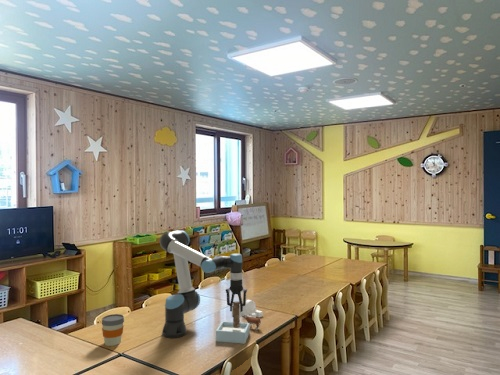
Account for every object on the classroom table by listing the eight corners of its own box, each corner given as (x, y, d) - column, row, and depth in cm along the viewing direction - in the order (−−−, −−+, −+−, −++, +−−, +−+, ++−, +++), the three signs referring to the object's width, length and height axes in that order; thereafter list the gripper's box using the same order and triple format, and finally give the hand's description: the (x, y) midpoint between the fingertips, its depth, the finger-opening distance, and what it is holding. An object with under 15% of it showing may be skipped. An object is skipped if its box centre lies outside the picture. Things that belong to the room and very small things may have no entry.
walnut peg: (232, 327, 224) (232, 303, 224) (233, 325, 228) (233, 301, 228) (238, 328, 223) (238, 303, 223) (240, 325, 227) (240, 301, 227)
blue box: (215, 341, 221) (215, 330, 221) (222, 331, 237) (222, 321, 237) (244, 343, 218) (245, 332, 218) (249, 333, 234) (249, 323, 234)
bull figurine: (246, 324, 249) (246, 312, 249) (261, 329, 241) (261, 316, 241) (242, 326, 246) (242, 314, 246) (257, 331, 237) (257, 318, 238)
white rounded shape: (262, 316, 265) (262, 301, 265) (253, 320, 258) (253, 304, 258) (245, 310, 278) (245, 296, 278) (236, 313, 271) (236, 298, 271)
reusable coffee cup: (114, 336, 226) (114, 312, 227) (128, 341, 220) (128, 316, 220) (96, 344, 216) (97, 318, 216) (111, 349, 209) (111, 322, 209)
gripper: (221, 279, 224) (221, 318, 223) (248, 280, 221) (248, 319, 221) (224, 277, 231) (224, 314, 231) (250, 278, 228) (250, 315, 228)
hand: (236, 316), depth 226 cm, fingers closed on walnut peg, 4 cm apart
